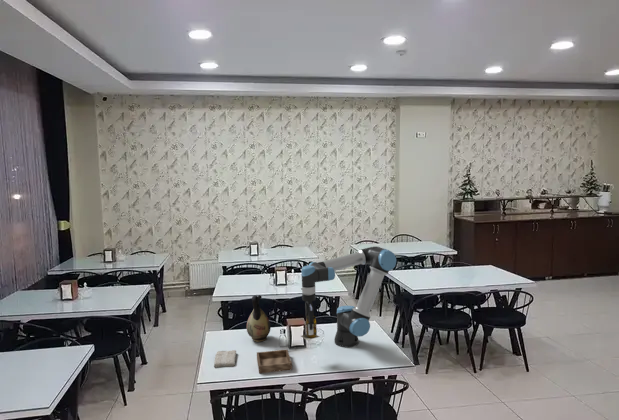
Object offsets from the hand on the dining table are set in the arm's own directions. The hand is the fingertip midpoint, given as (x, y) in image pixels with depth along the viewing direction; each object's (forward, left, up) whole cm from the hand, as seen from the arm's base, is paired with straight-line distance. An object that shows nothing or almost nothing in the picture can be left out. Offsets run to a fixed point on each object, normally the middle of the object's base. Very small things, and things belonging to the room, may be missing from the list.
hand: (309, 332), depth 251 cm
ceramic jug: (+27, -36, -17) cm, 48 cm away
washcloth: (+48, -11, -17) cm, 52 cm away
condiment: (0, 0, -3) cm, 3 cm away
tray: (+21, +1, -16) cm, 27 cm away
